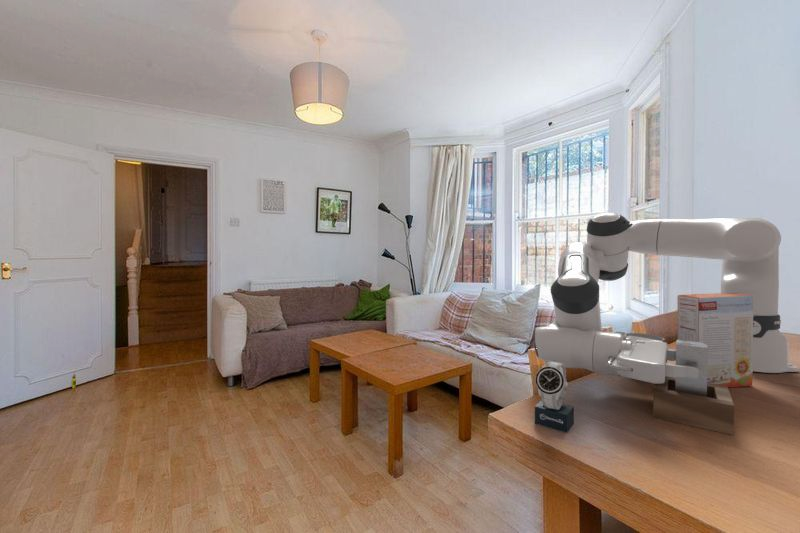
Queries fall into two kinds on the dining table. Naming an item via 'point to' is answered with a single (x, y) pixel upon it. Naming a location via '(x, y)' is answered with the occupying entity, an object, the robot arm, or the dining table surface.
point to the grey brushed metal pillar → (692, 356)
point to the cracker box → (720, 334)
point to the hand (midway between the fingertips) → (697, 365)
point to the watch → (553, 398)
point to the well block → (695, 407)
